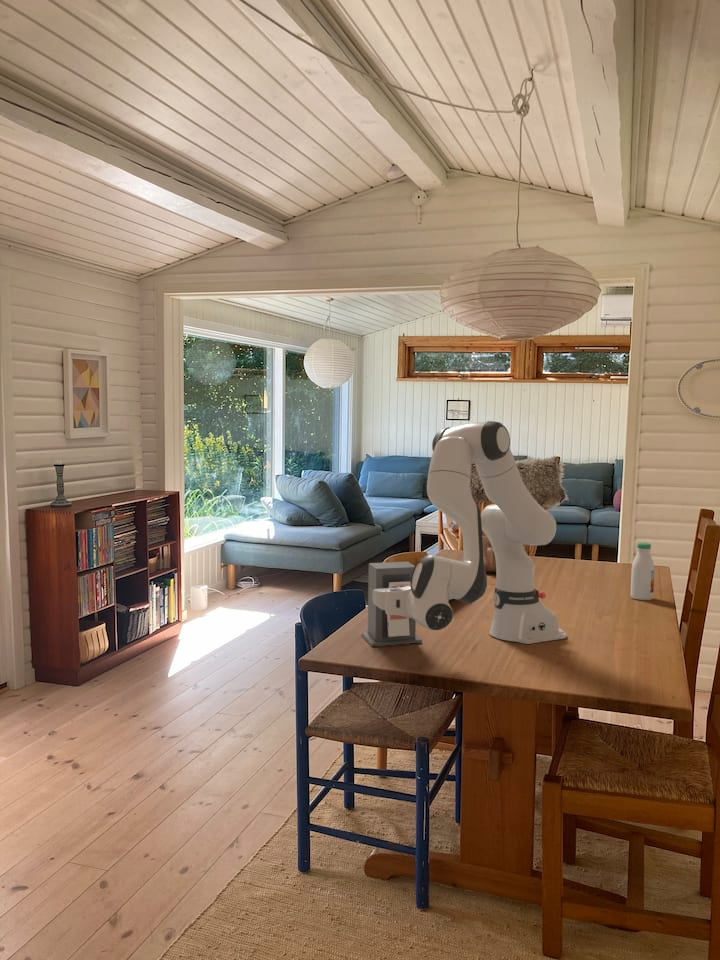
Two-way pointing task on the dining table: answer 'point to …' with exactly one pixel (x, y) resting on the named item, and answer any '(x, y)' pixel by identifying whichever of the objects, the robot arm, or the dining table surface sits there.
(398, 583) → the upper rocker
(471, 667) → the dining table surface
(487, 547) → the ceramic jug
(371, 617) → the grey framed tower stand
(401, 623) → the lower rocker
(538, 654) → the dining table surface
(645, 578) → the milk bottle
